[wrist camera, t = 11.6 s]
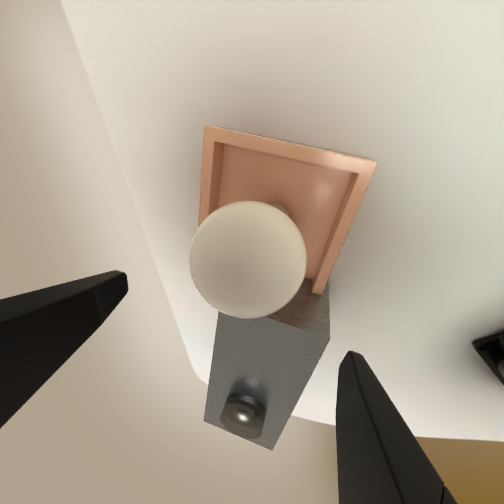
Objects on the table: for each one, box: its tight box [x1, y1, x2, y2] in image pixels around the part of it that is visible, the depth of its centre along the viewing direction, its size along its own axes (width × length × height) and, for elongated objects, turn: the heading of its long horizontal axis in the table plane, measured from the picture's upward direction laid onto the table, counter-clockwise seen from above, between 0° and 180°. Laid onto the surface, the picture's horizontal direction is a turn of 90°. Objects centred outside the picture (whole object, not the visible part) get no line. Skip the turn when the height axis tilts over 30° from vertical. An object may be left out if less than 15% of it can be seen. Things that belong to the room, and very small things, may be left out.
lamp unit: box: [204, 277, 330, 450], centre depth 23 cm, size 18×8×9 cm, turn 170°
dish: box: [198, 126, 378, 295], centre depth 19 cm, size 12×12×2 cm
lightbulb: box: [189, 201, 307, 319], centre depth 15 cm, size 6×6×11 cm
